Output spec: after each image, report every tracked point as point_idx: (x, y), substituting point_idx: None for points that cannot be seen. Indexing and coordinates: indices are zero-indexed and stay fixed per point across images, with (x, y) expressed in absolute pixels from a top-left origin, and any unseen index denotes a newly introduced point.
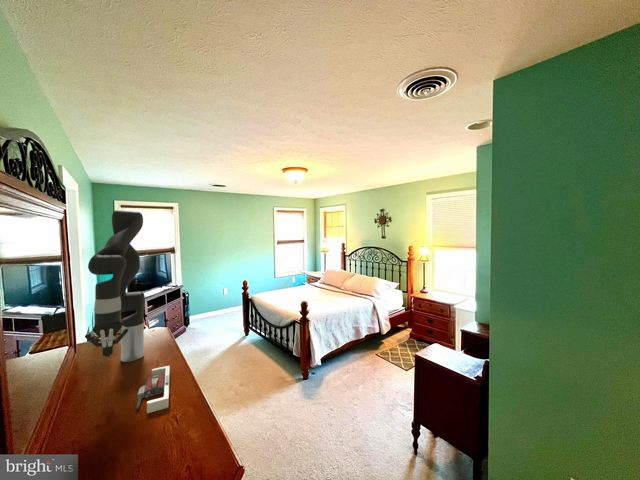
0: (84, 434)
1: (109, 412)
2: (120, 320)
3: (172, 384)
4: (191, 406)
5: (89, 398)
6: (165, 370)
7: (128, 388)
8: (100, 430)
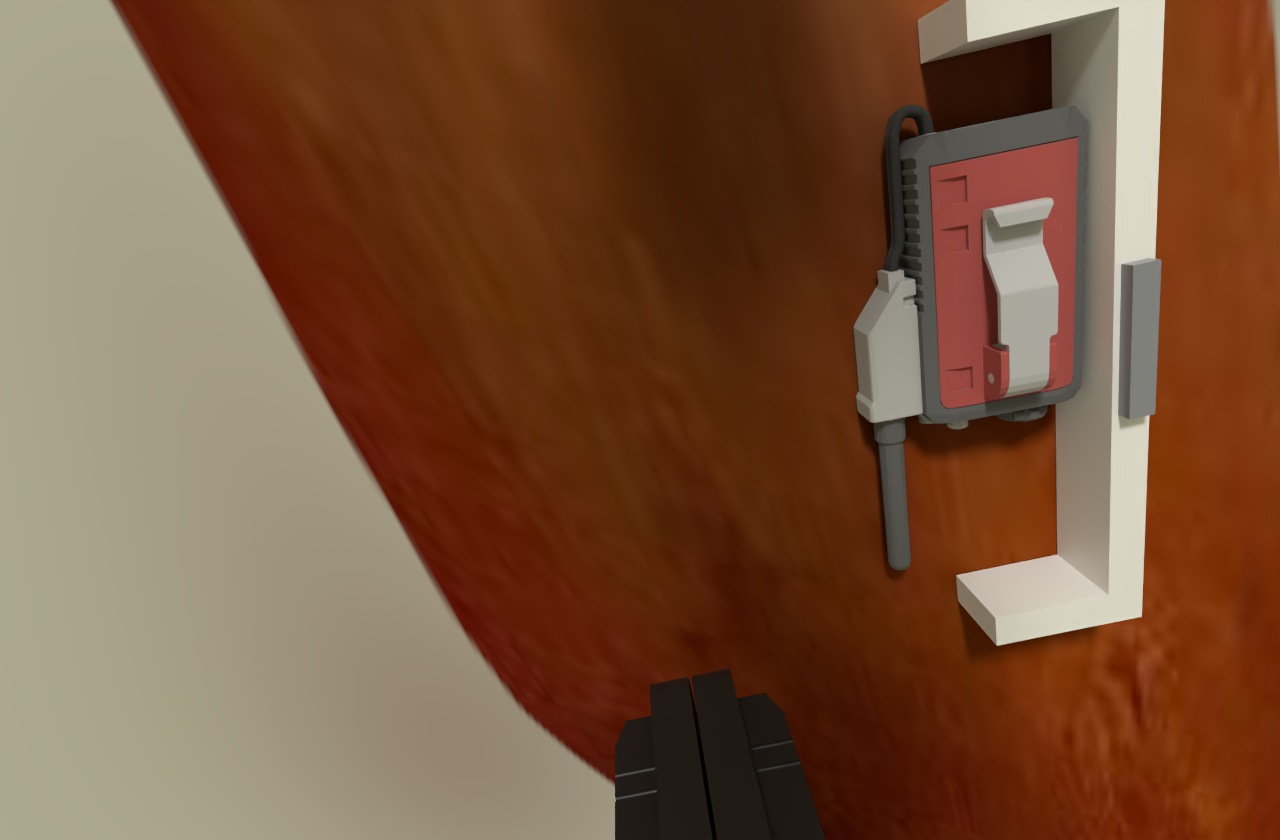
0: None
1: (709, 527)
2: None
3: None
4: (1231, 598)
5: (459, 294)
6: (1118, 89)
7: (736, 211)
8: None
